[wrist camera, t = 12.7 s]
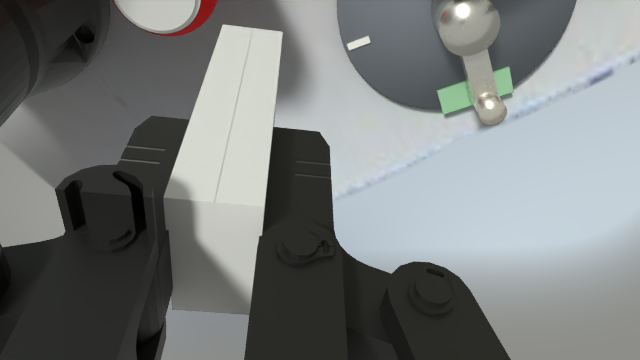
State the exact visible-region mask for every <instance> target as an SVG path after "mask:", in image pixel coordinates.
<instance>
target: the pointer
mask: <svg viewBox="0 0 640 360" xmlns="http://www.w3.org/2000/svg"><path fill="white" fill-rule="evenodd" d="M431 18H432V21H433V23H434V25H435V27H436V29H437V31H438V33H439V35H440V37H441V39H442V41H443V43H444V45H445V47H446V48H447V49H448V50H449V51H450V52H452V53H454V54H456V55H459V56H460V59H461V63H462V66H463V70H464V74H465V77H466V81H467V84H466V90H467V93H468V95H469V97H470V99H471V101H472V103H473V105H474V107H475V109H476V111H477V113H478V115H479V117H480V119H481V121H482V122H483V123H484V124H486V125H495V124H498V123H500V122H501V121H503V120H504V118H505V117H506V115H507V109H506V107H505V105H504V103H503V101H502V100H501V98H500V96H499V95H498V92H497V88H496V83H495V79H494V75H493V71H492V66H491V62H490V58H489V54H488V49H487V48H488V47H489V46H490V45H491V44H492V43H493V42H494V40H495V39H496V37H497V35H498V33H499V29H500V16H499V13H498V11H497V10H496V8H495V7H494V6H493V5H492V3H491V2H490V1H489V0H433V2H432V5H431Z"/></svg>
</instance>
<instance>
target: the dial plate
mask: <svg viewBox="0 0 640 360" xmlns="http://www.w3.org/2000/svg"><path fill="white" fill-rule="evenodd" d="M489 1H490V2H491V3H492V5H493V6H494V7H495V8H496V10H497V11H498V13H499V16H500V29H499V33H498V35H497V37H496V39H495V40H494V42H493V43H492V44H491V45H490V46H489V47H488V48H487V49H488V54H489V58H490V62H491V66H492V71H493V75H494V79H495V83H496V88H497V92H498V95H499V96H502V95H505V94H508V93H511V92H513V85H515V84H517V83H518V82H519V81H520V80H522V79H523V78H524V77H526V76H527V75H528V74H529V73H531V72H532V71H533V70H534V69H535V68H536V67H537V66H538V65H539V64H540V63H541V62H542V61H543V60H544V58H545V57H546V56H547V55H548V54H549V53H550V51H551V50H552V49H553V47H554V46H555V44H556V43H557V41H558V40H559V39H560V37H561V35H562V33H563V32H564V30H565V28H566V26H567V24H568V22H569V20H570V17H571V15H572V12H573V10H574V7H575V3H576V0H489ZM432 2H433V0H337V16H338V24H339V30H340V35H341V39H342V42H343V45H344V48H345V50H346V53H347V55H348V57H349V59H350V61H351V63H352V64H353V66H354V67H355V69H356V70H357V72H358V73H359V74H360V75H361V76H362V77H363V79H364V80H365V81H366V82H367V83H368V84H370V85H371V86H372V87H373V88H374V89H375V90H377V91H378V92H380V93H382V94H383V95H385V96H386V97H388V98H390V99H392V100H395V101H397V102H399V103H402V104H405V105H408V106H412V107H418V108H423V109H442V111H443V114H446V113H449V112H452V111H456V110H459V109H462V108H465V107H468V106H471V105H473V103H472V101H471V99H470V97H469V95H468V93H467V90H466V84H467V81H466V77H465V74H464V70H463V66H462V63H461V59H460V56H459V55H456V54H454V53H452V52H450V51H449V50H448V49H447V48H446V47H445V45H444V43H443V41H442V39H441V37H440V35H439V33H438V31H437V29H436V27H435V25H434V23H433V21H432V18H431V5H432Z"/></svg>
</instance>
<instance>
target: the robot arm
mask: <svg viewBox="0 0 640 360" xmlns="http://www.w3.org/2000/svg"><path fill="white" fill-rule="evenodd" d="M109 14H110V9H109V0H0V127H1V126H2V125H3V124H4V122H5V121H6V120H7V119H8V118H9V117H10V115H11V114H12V113H13V112H14V111H15V110H16V108H17V107H18V106H19V105H20V103H21V102H22V101H23V100H24V99H25V98H27V97H30V96H32V95H35V94H38V93H40V92H43V91H46V90H49V89H51V88H54V87H57V86H59V85H62V84H64V83H66V82H68V81H69V80H71V79H73V78H74V77H75V76H77V75H78V74H79V73H80V72H82V71H83V70H84V69H85V68H86V67H87V65H88V64H89V63H90V62H91V60H92V59H93V58H94V56H95V55H96V54H97V52H98V51H99V49H100V48H101V46H102V44H103V42H104V40H105V37H106V34H107V30H108V25H109ZM282 35H283V32H280V31H272V30H264V29H256V28H248V27H240V26H232V25H224V24H223V26H222V29H221V32H220V34H219V37H218V40H217V43H216V46H215V49H214V52H213V55H212V58H211V61H210V63H209V66H208V69H207V72H206V75H205V78H204V81H203V84H202V87H201V89H200V92H199V95H198V98H197V101H196V104H195V107H194V110H193V113H192V116H191V118H190V120H186V119H177V118H167V117H158V116H151V117H150V118H149V119H147V120H146V121H145V122H143V123H142V124H141V125H139V126H138V127H137V128H135V130H134V132H133V134H132V136H131V138H130V140H129V142H128V144H127V148H125V150H124V152H123V154H122V156H121V161H119V162H118V164H117V165H99V166H95V167H91V168H87V169H82V170H80V171H78V172H76V173H74V174H72V175H70V176H68V177H67V178H65V179H64V180H63V181H62V182H61V183H60V184H59V185H58V186H57V187H56V189H55V192H56V196H57V200H58V203H59V207H60V211H61V215H62V219H63V223H64V227H65V230H66V231H65V233H64V235H63V236H60V237H57V238H55V239H50V240H46V241H42V242H36V243H29V244H23V245H16V246H9V247H3V248H2V246H1V244H0V360H160V359H161V356H162V351H163V348H164V344H165V340H166V318H165V316H166V312H167V308H168V305H169V301H170V297H171V299H172V309H173V310H186V311H203V312H216V313H230V314H246V315H249V323H248V324H249V325H248V332H247V341H246V350H245V358H244V360H511V359H510V358H509V356H508V354H507V353H506V351H505V349H504V347H503V346H502V344H501V343H500V341H499V339H498V337H497V336H496V334H495V332H494V330H493V329H492V327H491V325H490V324H489V322H488V320H487V319H486V317H485V315H484V313H483V312H482V310H481V308H480V307H479V305H478V303H477V302H476V300H475V298H474V296H473V295H472V293H471V291H470V290H469V288H468V287H467V286H466V285H465V284H464V282H463V281H462V280H461V279H460V278H459V277H458V276H456V275H455V274H454V273H452V272H451V271H449V270H448V269H446V268H444V267H441V266H438V265H435V264H432V263H429V262H411V263H408V264H405V265H401V266H400V267H398V268H397V269H396V270H395V271H394V272H393V273H392V274H391V273H388V272H385V271H382V270H379V269H376V268H373V267H371V266H368V265H366V264H364V263H362V262H359V261H357V260H356V259H355V258H353V257H352V256H350V255H349V254H348V253H347V252H346V251H345V250H344V249H343V248H342V247H341V246H340V244H339V242H338V240H337V239H336V236H335V232H334V222H333V203H332V184H331V166H330V147H329V145H328V144H327V142H326V141H325V139H324V138H323V136H322V135H321V134H320V132H317V131H307V130H298V129H288V128H278V127H274V122H275V111H276V100H277V89H278V78H279V67H280V57H281V46H282Z"/></svg>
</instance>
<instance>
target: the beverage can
mask: <svg viewBox="0 0 640 360" xmlns="http://www.w3.org/2000/svg"><path fill="white" fill-rule="evenodd" d="M112 1H113V3H114V4H115V6H116V7H117V8H118V10H119V11H120V12H121V13H122V14H123V15H124V16H125V17H126V18H127V19H128V20H129V21H130V22H131V23H133V24H134V25H136V26H137V27H139V28H141V29H143V30H145V31H147V32H150V33H153V34H157V35H162V36H177V35H182V34H186V33H188V32H191V31H193V30H195V29H196V28H198V27H199V26H201V25H202V24H203V23H204V22H205V21H206V20H207V19H208V18H209V16H210V15H211V13H212V12H213V10H214V8H215V5H216V3H217V1H218V0H112Z"/></svg>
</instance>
